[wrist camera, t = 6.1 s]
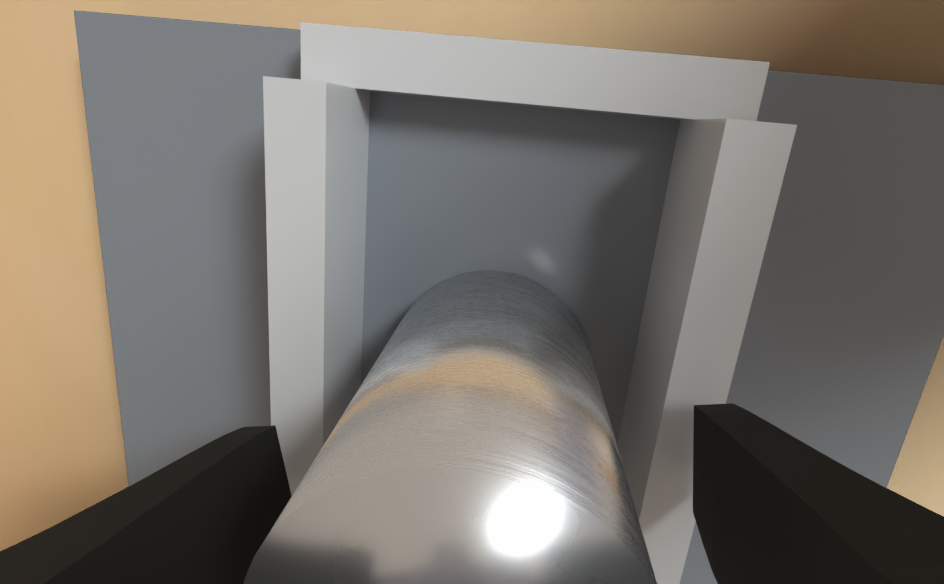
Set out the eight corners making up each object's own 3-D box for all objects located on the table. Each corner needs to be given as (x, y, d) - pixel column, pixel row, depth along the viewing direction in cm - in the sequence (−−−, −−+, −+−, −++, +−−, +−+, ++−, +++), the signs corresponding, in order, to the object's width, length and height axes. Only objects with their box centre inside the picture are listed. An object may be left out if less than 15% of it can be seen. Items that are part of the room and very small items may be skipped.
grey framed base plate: (980, 96, 11) (1200, 82, 7) (793, 634, 15) (876, 790, 12) (116, 21, 12) (-54, -22, 8) (166, 542, 16) (66, 660, 13)
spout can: (581, 258, 11) (724, 597, 3) (597, 444, 13) (731, 1026, 4) (376, 282, 12) (59, 620, 4) (410, 457, 13) (228, 997, 5)
